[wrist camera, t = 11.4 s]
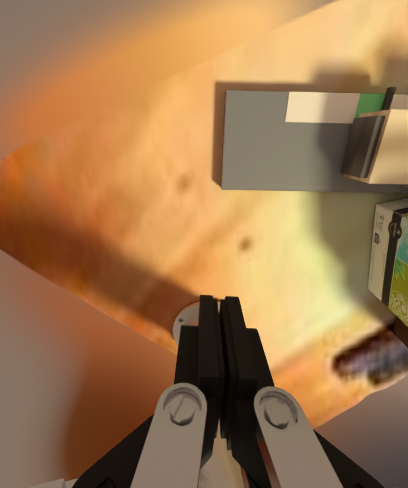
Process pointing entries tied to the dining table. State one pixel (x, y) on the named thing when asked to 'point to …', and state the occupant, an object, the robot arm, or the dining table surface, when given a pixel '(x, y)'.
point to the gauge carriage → (378, 146)
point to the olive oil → (401, 331)
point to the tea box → (391, 257)
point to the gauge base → (294, 140)
